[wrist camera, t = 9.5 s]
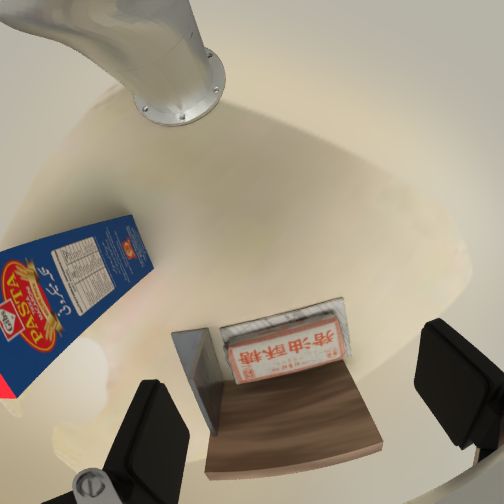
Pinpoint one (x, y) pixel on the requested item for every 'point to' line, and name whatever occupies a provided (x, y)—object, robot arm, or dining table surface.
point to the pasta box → (61, 293)
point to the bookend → (202, 372)
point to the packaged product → (287, 342)
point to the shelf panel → (291, 425)
